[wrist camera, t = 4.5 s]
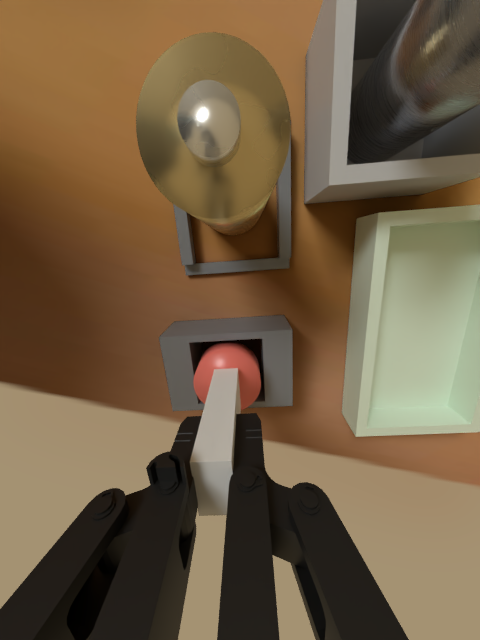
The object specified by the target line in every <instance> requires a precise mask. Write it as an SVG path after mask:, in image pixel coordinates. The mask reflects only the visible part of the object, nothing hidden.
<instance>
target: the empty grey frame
mask: <svg viewBox="0 0 480 640" xmlns="http://www.w3.org/2000/svg"><path fill="white" fill-rule="evenodd" d="M290 124H291V120H290ZM276 191H277V241H278V258H267V259H253V260H239V261H225V262H211V263H197V264H196V260H195V252H194V244H193V236H192V228H191V220H190V214H188V213H187V212H185V211H184V210H182V209H180V208H179V207H177V206H176V205H174V204H173V205H174V212H175V219H176V226H177V233H178V240H179V247H180V254H181V261H182V265H185V271H186V275H198V274H213V273H227V272H242V271H256V270H270V269H285V268H289V258H291V132H290V144H289V150H288V154H287V158H286V161H285V164H284V167H283V169H282V172H281V174H280V176H279V178H278V180H277V182H276Z"/></svg>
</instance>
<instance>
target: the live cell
mask: <svg viewBox="0 0 480 640" xmlns="http://www.w3.org/2000/svg"><path fill="white" fill-rule="evenodd" d="M136 131H137V139H138V145H139V150H140V154H141V157H142V160H143V163H144V165H145V167H146V170H147V172H148V174H149V176H150V177H151V179H152V181H153V182H154V184H155V185H156V187H157V188H158V189H159V190H160V192H161V193H162V194H163V195H164V196H165V197H166V198H167V199H168V200H169V201H170V202H172V203H173V204H174V205H176V206H177V207H179V208H180V209H182V210H184V211H185V212H187V213H188V214H190V215H192V216H193V217H195V218H197V219H198V220H200V221H202V222H203V223H205V224H207V225H208V226H210V227H212V228H213V229H215V230H217V231H218V232H220V233H222V234H226V235H240V234H243V233H245V232H247V231H249V230H250V229H251V228H252V227H253V226H254V225H255V224H256V223H257V222H258V220H259V218H260V216H261V214H262V212H263V210H264V208H265V206H266V204H267V201H268V199H269V197H270V195H271V193H272V191H273V189H274V187H275V185H276V182H277V180H278V178H279V176H280V174H281V172H282V169H283V167H284V164H285V161H286V158H287V154H288V150H289V144H290V132H291V124H290V112H289V106H288V101H287V98H286V95H285V91H284V89H283V86H282V84H281V82H280V79H279V77H278V76H277V74H276V72H275V71H274V69H273V67H272V66H271V65H270V63H269V62H268V61H267V60H266V58H265V57H264V56H263V55H262V54H261V53H260V52H259V51H258V50H256V49H255V48H254V47H252V46H251V45H250V44H248V43H247V42H245V41H243V40H241V39H239V38H237V37H234V36H231V35H228V34H223V33H216V32H212V33H200V34H195V35H192V36H189V37H187V38H184V39H182V40H180V41H179V42H177V43H175V44H174V45H172V46H171V47H170V48H169V49H167V50H166V51H165V52H164V53H163V54H162V55H161V56H160V57H159V59H158V60H157V61H156V62H155V64H154V65H153V67H152V68H151V70H150V71H149V73H148V75H147V77H146V79H145V81H144V84H143V87H142V90H141V93H140V97H139V101H138V106H137V116H136Z"/></svg>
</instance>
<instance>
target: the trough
mask: <svg viewBox="0 0 480 640" xmlns="http://www.w3.org/2000/svg"><path fill="white" fill-rule="evenodd" d="M342 414H343V416H344V418H345V419H346V421H347V423H348V424H349V426H350V428H351V430H352V431H353V433H354V435H355V436H356V437H361V436H388V435H415V434H441V433H468V432H479V431H480V205H469V206H457V207H444V208H431V209H419V210H406V211H393V212H380V213H375V214H372V215H368V216H364V217H360V218H357V219H356V232H355V245H354V258H353V271H352V285H351V298H350V311H349V324H348V337H347V350H346V363H345V376H344V390H343V403H342Z"/></svg>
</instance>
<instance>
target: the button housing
mask: <svg viewBox="0 0 480 640" xmlns="http://www.w3.org/2000/svg"><path fill="white" fill-rule="evenodd" d="M244 339H260V345H261V366H262V376H260V379H261V388H260V392H259V395H258V397H257V398H256V400H255V401H254V402H253V403H252V404H251V405H250V406H248V407H247V408H255V407H278V406H293V361H292V328H291V326H290V325H289V323H288V321H287V319H286V318H285V316H284V315H274V316H258V317H241V318H225V319H208V320H192V321H176V322H173V323H172V324H171V325H170V326H169V327H168V329H167V330H166V331H165V332H164V333H163V334H162V335H161V336H160V337H159V341H160V346H161V351H162V357H163V362H164V367H165V372H166V378H167V383H168V388H169V393H170V399H171V404H172V409H173V411H186V410H204V406H205V404H204V403H203V402H202V401H201V400H200V399H199V398H198V396H197V394H196V392H195V390H194V384H193V381H194V375H195V372H196V370H197V367H198V365H199V362H200V360H201V357H202V355H203V353H202V345H201V342H209V341H227V340H244Z"/></svg>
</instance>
